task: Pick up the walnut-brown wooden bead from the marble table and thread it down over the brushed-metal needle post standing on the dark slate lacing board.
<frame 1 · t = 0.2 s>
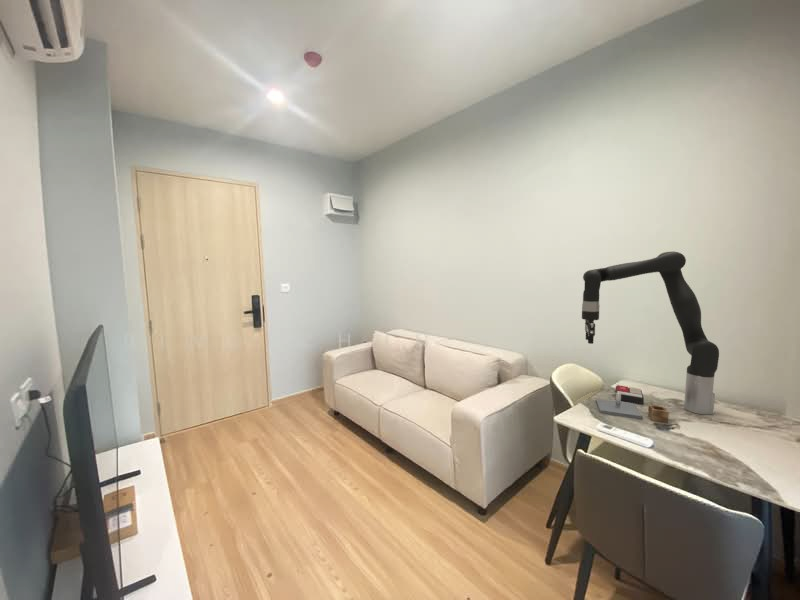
hand: (589, 341, 163), 29 cm above the table, fingers open, 8 cm apart
needle post: (618, 399, 149), on the lacing board, point 5 cm above the table
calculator: (628, 398, 164), on the table
bead: (657, 419, 140), on the table
lacing board: (617, 409, 150), on the table
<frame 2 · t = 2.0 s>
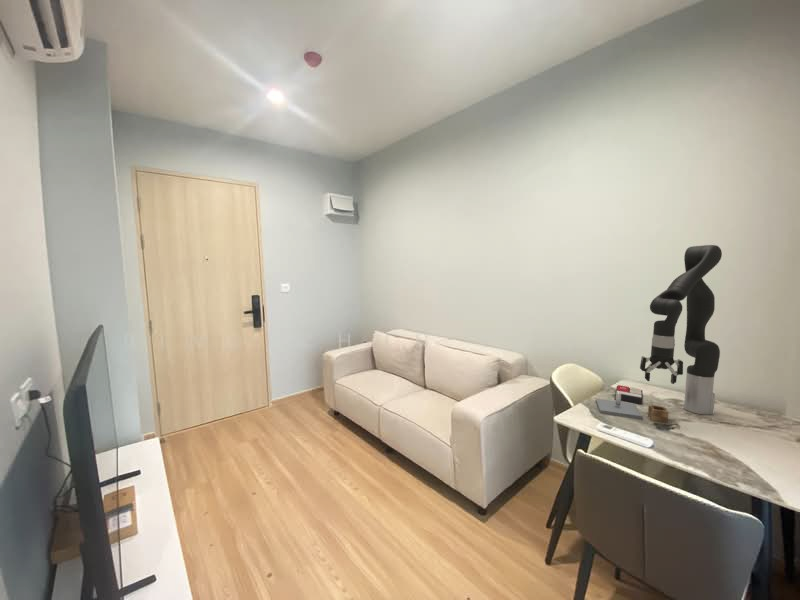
hand: (659, 382, 139), 17 cm above the table, fingers open, 8 cm apart
nothing on the table moved.
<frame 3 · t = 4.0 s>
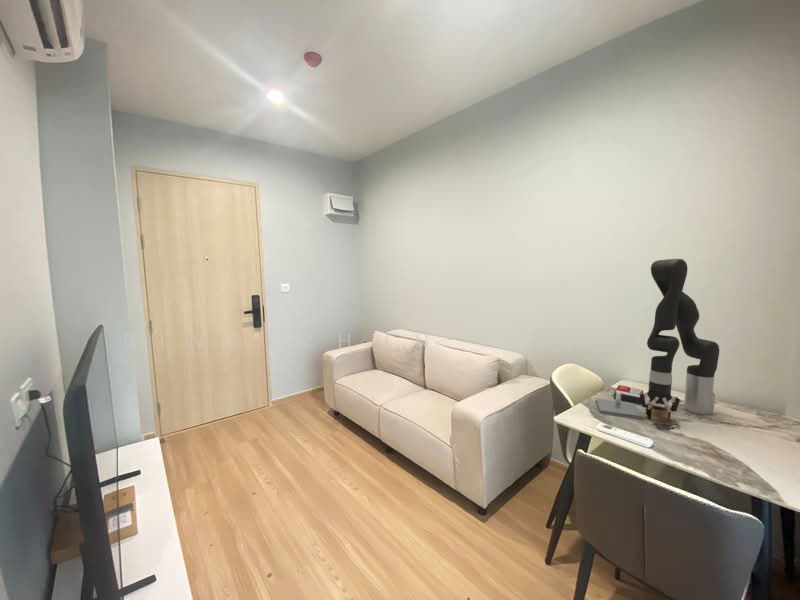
hand: (657, 417, 140), 1 cm above the table, fingers closed on bead, 5 cm apart
bead: (657, 419, 140), on the table, touching gripper
everything else where it was.
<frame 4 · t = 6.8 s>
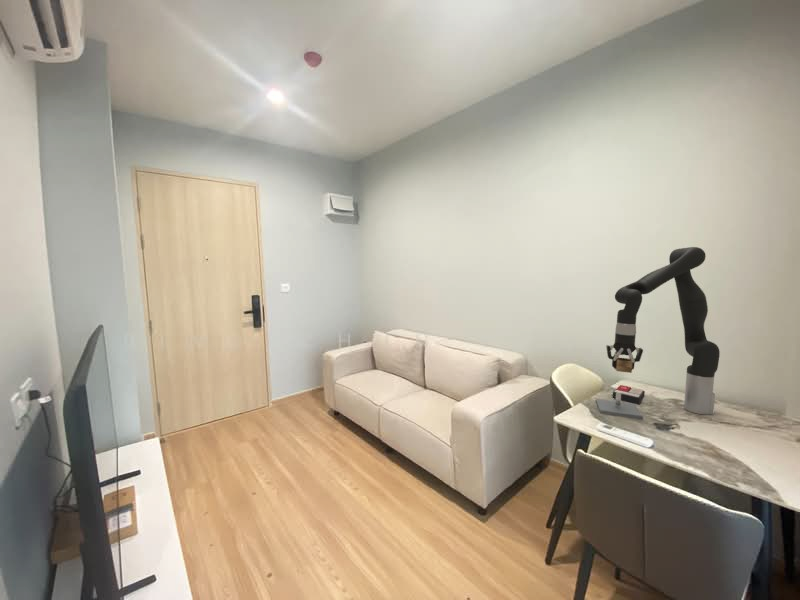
hand: (622, 368, 147), 20 cm above the table, fingers closed on bead, 5 cm apart
bead: (622, 370, 147), point 19 cm above the table, touching gripper
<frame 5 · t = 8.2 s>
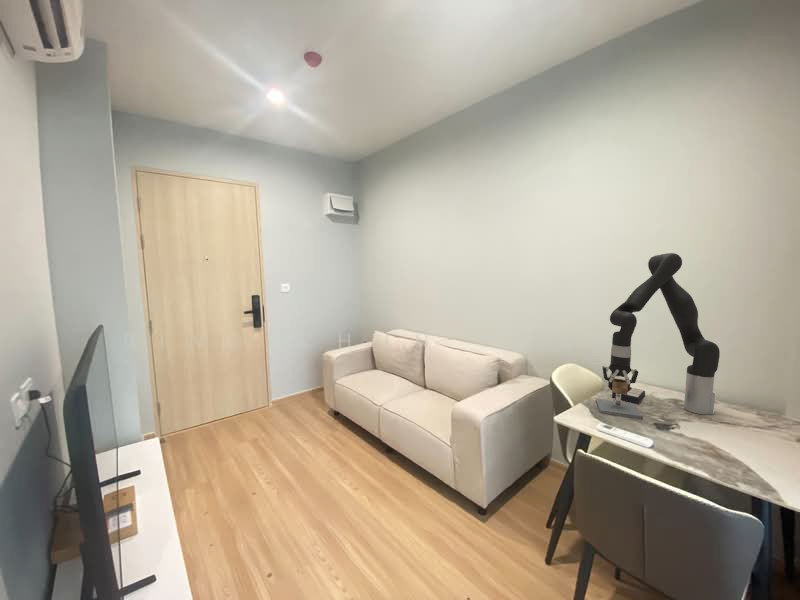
hand: (618, 389, 149), 10 cm above the table, fingers closed on bead, 5 cm apart
bead: (618, 391, 149), point 9 cm above the table, touching gripper
when the fingers open (5 cm above the table, at t = 9.6 s): bead drops 3 cm, resting on lacing board.
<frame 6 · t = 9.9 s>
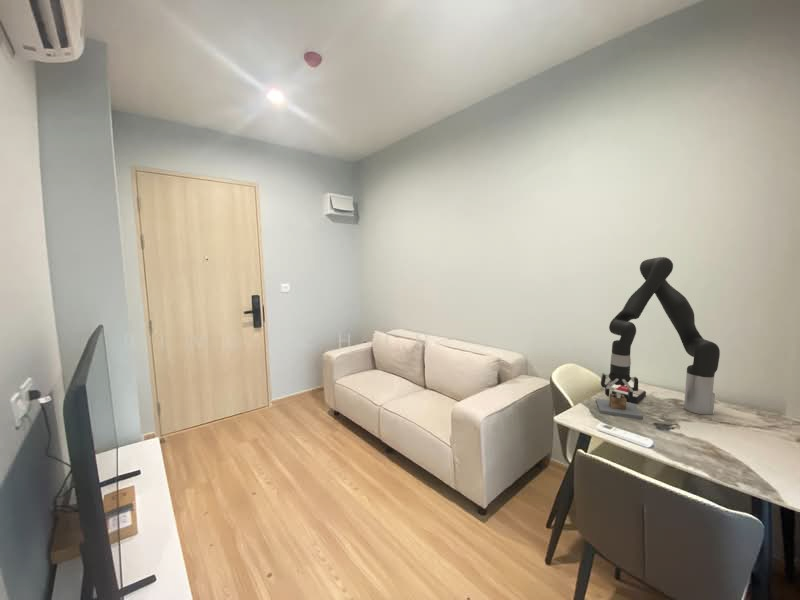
hand: (618, 397, 149), 6 cm above the table, fingers open, 8 cm apart
bead: (617, 406, 150), point 1 cm above the table, touching lacing board
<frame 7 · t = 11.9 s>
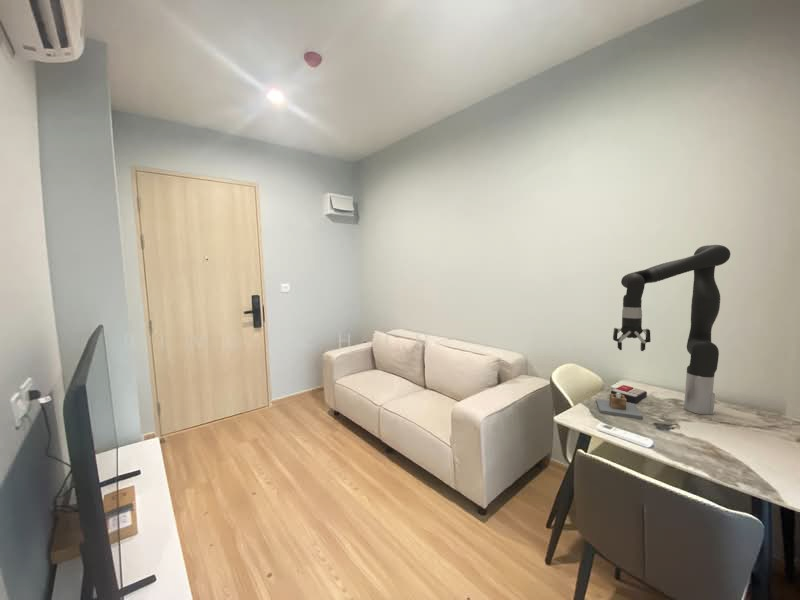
hand: (631, 350, 152), 27 cm above the table, fingers open, 8 cm apart
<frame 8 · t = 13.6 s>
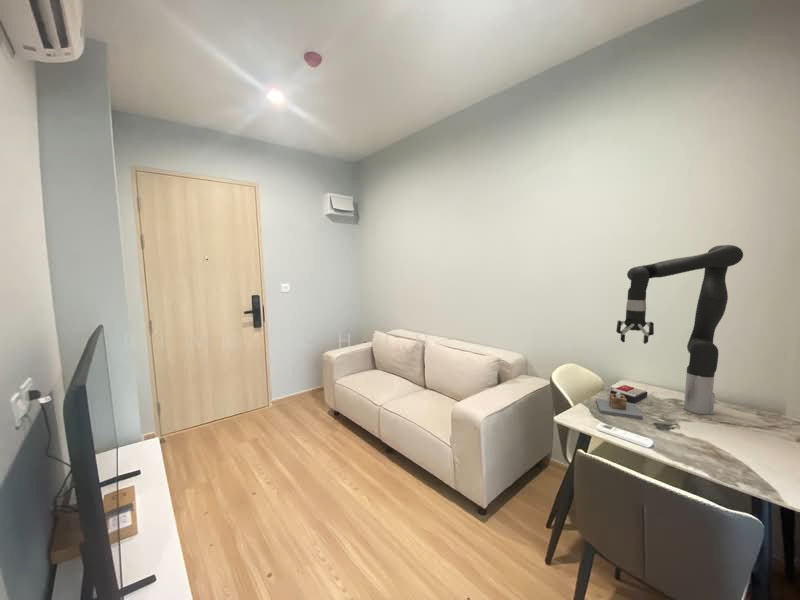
hand: (633, 342, 154), 30 cm above the table, fingers open, 8 cm apart
at the end: bead 0.2 cm off-centre on the lacing board, point 1.5 cm above the lacing board's base; bead tilted 0°; the gripper is holding nothing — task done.
